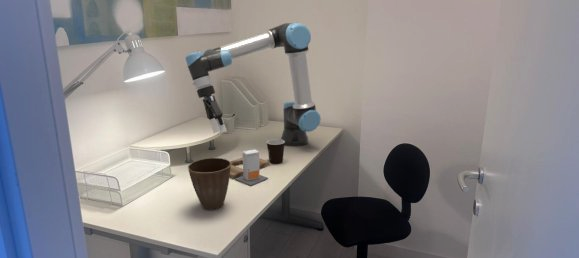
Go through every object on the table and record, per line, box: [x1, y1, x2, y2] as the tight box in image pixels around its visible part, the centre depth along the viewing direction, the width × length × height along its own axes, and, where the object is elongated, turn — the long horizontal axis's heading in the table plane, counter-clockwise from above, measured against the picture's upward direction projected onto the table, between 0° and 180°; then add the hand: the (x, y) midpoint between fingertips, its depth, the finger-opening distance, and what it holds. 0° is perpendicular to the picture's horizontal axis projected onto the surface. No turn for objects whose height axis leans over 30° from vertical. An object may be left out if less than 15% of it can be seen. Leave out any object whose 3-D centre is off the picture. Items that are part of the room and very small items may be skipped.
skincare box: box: [242, 149, 261, 181], centre depth 162 cm, size 6×4×12 cm
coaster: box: [234, 174, 269, 187], centre depth 164 cm, size 10×10×1 cm
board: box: [229, 156, 271, 181], centre depth 176 cm, size 22×14×2 cm, turn 138°
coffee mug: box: [266, 138, 285, 165], centre depth 185 cm, size 12×9×10 cm
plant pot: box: [187, 157, 231, 211], centre depth 139 cm, size 15×15×16 cm
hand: (220, 132), depth 173 cm, fingers open, 13 cm apart
